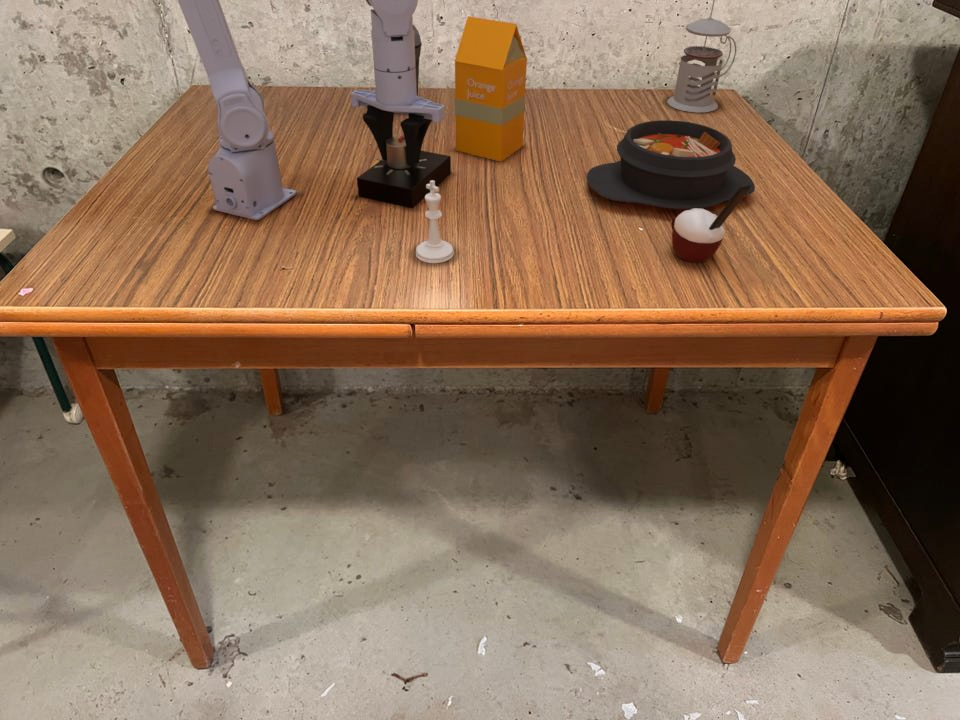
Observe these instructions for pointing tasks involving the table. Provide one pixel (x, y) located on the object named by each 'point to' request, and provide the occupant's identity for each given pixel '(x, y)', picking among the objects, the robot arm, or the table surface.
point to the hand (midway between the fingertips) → (400, 160)
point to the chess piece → (434, 232)
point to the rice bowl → (702, 230)
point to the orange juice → (490, 89)
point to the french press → (700, 69)
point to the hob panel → (404, 180)
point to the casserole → (671, 167)
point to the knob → (397, 152)
